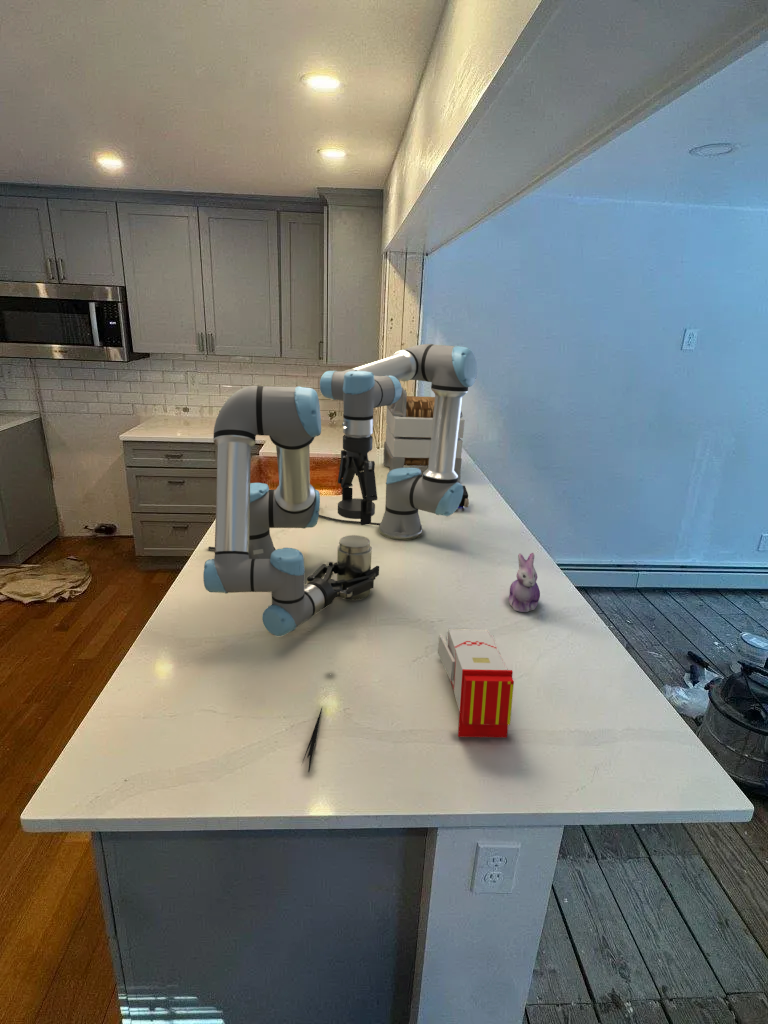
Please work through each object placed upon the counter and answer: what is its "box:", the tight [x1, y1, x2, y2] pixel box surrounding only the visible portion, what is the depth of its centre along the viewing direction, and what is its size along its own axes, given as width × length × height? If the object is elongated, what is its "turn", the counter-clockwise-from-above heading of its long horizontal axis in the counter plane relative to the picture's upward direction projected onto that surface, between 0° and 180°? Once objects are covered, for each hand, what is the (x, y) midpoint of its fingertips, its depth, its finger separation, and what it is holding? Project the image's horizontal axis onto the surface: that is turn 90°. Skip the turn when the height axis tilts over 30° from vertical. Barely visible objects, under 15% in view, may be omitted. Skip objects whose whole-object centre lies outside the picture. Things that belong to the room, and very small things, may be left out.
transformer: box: [383, 387, 465, 483], centre depth 268 cm, size 34×33×41 cm
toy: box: [437, 628, 515, 738], centre depth 117 cm, size 12×13×30 cm
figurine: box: [508, 552, 541, 613], centre depth 152 cm, size 9×10×15 cm
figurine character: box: [455, 484, 470, 512], centre depth 229 cm, size 7×8×15 cm
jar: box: [336, 534, 373, 601], centre depth 155 cm, size 9×9×16 cm
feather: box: [301, 673, 332, 771], centre depth 108 cm, size 2×28×2 cm
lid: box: [337, 497, 376, 520], centre depth 150 cm, size 10×10×2 cm
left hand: (362, 565), depth 159 cm, fingers closed on jar, 9 cm apart
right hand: (356, 517), depth 150 cm, fingers closed on lid, 10 cm apart
